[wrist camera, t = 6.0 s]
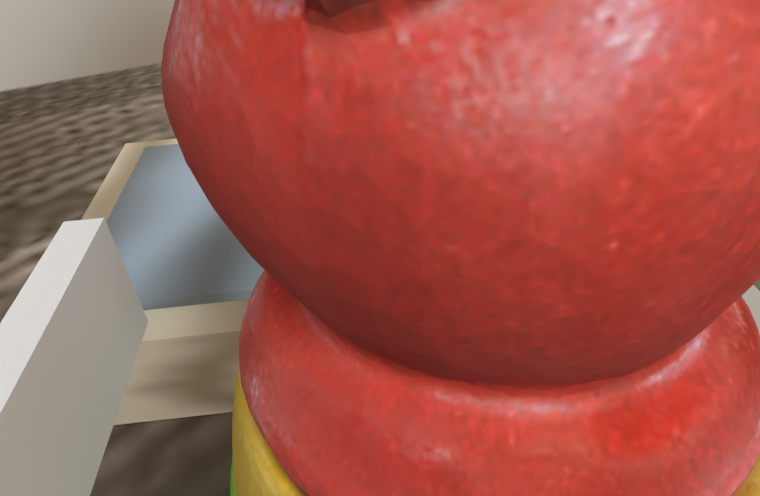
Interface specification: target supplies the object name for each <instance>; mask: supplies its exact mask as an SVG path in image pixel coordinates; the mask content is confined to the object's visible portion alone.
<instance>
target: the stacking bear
mask: <svg viewBox="0 0 760 496" xmlns="http://www.w3.org/2000/svg"><path fill="white" fill-rule="evenodd" d="M161 75H162V89H163V96H164V103H165V108H166V112H167V115H168V118H169V121H170V124H171V126H172V129H173V131H174V134H175V136H176V139H177V141H178V144H179V146H180V149H181V151H182V154H183V156H184V159H185V161H186V163H187V165H188V167H189V168H190V170H191V172H192V174H193V175H194V177H195V179H196V180H197V182H198V184H199V186H200V187H201V189H202V191H203V192H204V194H205V196H206V197H207V199H208V201H209V202H210V204H211V206H212V207H213V208H214V210H215V211H216V213H217V214H218V215H219V217H220V218H221V219H222V221H223V222H224V223H225V225H226V226H227V227H228V228H229V230H230V231H231V232H232V233H233V234H234V236H235V237H236V238H237V239H238V241H239V242H240V243H241V244H242V246H243V247H244V248H245V249H246V251H247V252H248V253H249V254H250V256H251V257H252V258H253V259H254V260H255V261H256V262H257V263H258V264H259V265H260V266H261V267H262V268H263V269H264V271H263V273H262V274H261V276H260V278H259V279H258V281H257V283H256V285H255V287H254V289H253V291H252V293H251V297H250V299H249V301H248V304H247V307H246V310H245V313H244V316H243V319H242V324H241V330H240V335H239V365H238V371H237V377H236V385H235V395H234V405H233V418H232V450H233V456H232V464H231V473H230V496H760V334H759V331H758V328H757V325H756V323H755V321H754V318H753V316H752V313H751V311H750V309H749V307H748V306H747V304H746V303H745V301H744V300H743V298H742V297H741V296H742V295H743V294H744V293H745V292H746V291H747V290H748V289H749V288H750V287H751V286H752V285H753V284H754V283H756V282H757V281H758V280H759V279H760V0H175V3H174V7H173V11H172V15H171V19H170V23H169V27H168V31H167V35H166V39H165V43H164V50H163V59H162V69H161Z"/></svg>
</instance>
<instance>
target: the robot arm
mask: <svg viewBox="0 0 760 496" xmlns="http://www.w3.org/2000/svg"><path fill="white" fill-rule="evenodd" d="M754 285H755V286H756V287H757V288H758V290H760V279H759V280H758V281H757V282H756V283H754ZM147 324H148V319H147V317H146V315H145V312H144V310H143V308H142V305H141V303H140V301H139V298H138V296H137V293H136V291H135V289H134V286H133V284H132V282H131V279H130V277H129V275H128V272H127V270H126V268H125V265H124V263H123V261H122V258H121V256H120V254H119V251H118V249H117V246H116V244H115V242H114V239H113V237H112V235H111V232H110V230H109V228H108V225H107V223H106V221H105V218H96V219H86V220H76V221H66V222H63V224H62V225H61V227H60V229H59V230H58V232H57V233H56V235H55V237H54V238H53V240H52V241H51V243H50V245H49V246H48V248H47V249H46V251H45V253H44V254H43V256H42V257H41V259H40V261H39V262H38V264H37V265H36V267H35V269H34V270H33V272H32V273H31V275H30V277H29V278H28V280H27V281H26V283H25V285H24V286H23V288H22V289H21V291H20V293H19V294H18V296H17V297H16V299H15V301H14V302H13V304H12V305H11V307H10V309H9V310H8V312H7V313H6V315H5V317H4V318H3V320H2V321H1V323H0V496H90V494H91V491H92V488H93V485H94V482H95V479H96V476H97V473H98V470H99V467H100V464H101V461H102V458H103V455H104V452H105V449H106V446H107V443H108V440H109V437H110V434H111V431H112V428H113V425H114V422H115V419H116V416H117V413H118V410H119V407H120V404H121V401H122V398H123V395H124V392H125V389H126V386H127V383H128V380H129V377H130V374H131V371H132V368H133V365H134V362H135V360H136V357H137V354H138V351H139V348H140V345H141V342H142V339H143V336H144V333H145V330H146V327H147Z"/></svg>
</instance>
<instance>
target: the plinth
mask: <svg viewBox="0 0 760 496" xmlns="http://www.w3.org/2000/svg"><path fill="white" fill-rule="evenodd" d="M96 218H105V221H106V223H107V225H108V228H109V230H110V232H111V235H112V237H113V239H114V242H115V244H116V246H117V249H118V251H119V254H120V256H121V258H122V261H123V263H124V265H125V268H126V270H127V272H128V275H129V277H130V279H131V282H132V284H133V286H134V289H135V291H136V293H137V296H138V298H139V301H140V303H141V305H142V308H143V310H144V312H145V315H146V317H147V319H148V324H147V327H146V330H145V333H144V336H143V339H142V342H141V345H140V348H139V351H138V354H137V357H136V360H135V362H134V365H133V368H132V371H131V374H130V377H129V380H128V383H127V386H126V389H125V392H124V395H123V398H122V401H121V404H120V407H119V410H118V413H117V416H116V419H115V422H114V425H120V424H129V423H138V422H147V421H156V420H165V419H174V418H183V417H192V416H200V415H209V414H218V413H227V412H233V405H234V395H235V385H236V377H237V371H238V365H239V335H240V330H241V324H242V319H243V316H244V313H245V310H246V307H247V304H248V301H249V299H250V297H251V293H252V291H253V289H254V287H255V285H256V283H257V281H258V279H259V278H260V276H261V274H262V273H263V271H264V269H263V268H262V267H261V266H260V265H259V264H258V263H257V262H256V261H255V260H254V259H253V258H252V257H251V256H250V254H249V253H248V252H247V251H246V249H245V248H244V247H243V246H242V244H241V243H240V242H239V241H238V239H237V238H236V237H235V236H234V234H233V233H232V232H231V231H230V230H229V228H228V227H227V226H226V225H225V223H224V222H223V221H222V219H221V218H220V217H219V215H218V214H217V213H216V211H215V210H214V208H213V207H212V206H211V204H210V202H209V201H208V199H207V197H206V196H205V194H204V192H203V191H202V189H201V187H200V186H199V184H198V182H197V180H196V179H195V177H194V175H193V174H192V172H191V170H190V168H189V167H188V165H187V163H186V161H185V159H184V156H183V154H182V151H181V149H180V146H179V144H178V141H177V139H167V140H157V141H147V142H136V143H126V144H125V146H124V147H123V149H122V151H121V152H120V154H119V156H118V157H117V159H116V161H115V163H114V164H113V166H112V168H111V169H110V171H109V173H108V175H107V176H106V178H105V180H104V181H103V183H102V185H101V187H100V188H99V190H98V192H97V193H96V195H95V197H94V199H93V200H92V202H91V204H90V205H89V207H88V209H87V210H86V212H85V214H84V216H83V217H82V219H81V220H86V219H96Z"/></svg>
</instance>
